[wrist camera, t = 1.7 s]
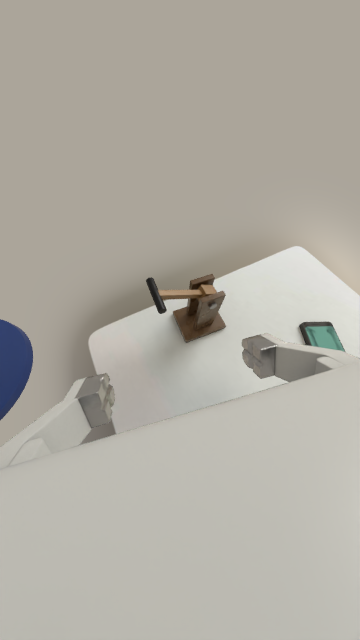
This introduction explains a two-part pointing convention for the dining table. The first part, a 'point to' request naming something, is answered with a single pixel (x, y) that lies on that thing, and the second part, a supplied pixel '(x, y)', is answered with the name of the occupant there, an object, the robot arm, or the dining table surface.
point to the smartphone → (321, 335)
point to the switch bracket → (200, 312)
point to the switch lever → (176, 294)
